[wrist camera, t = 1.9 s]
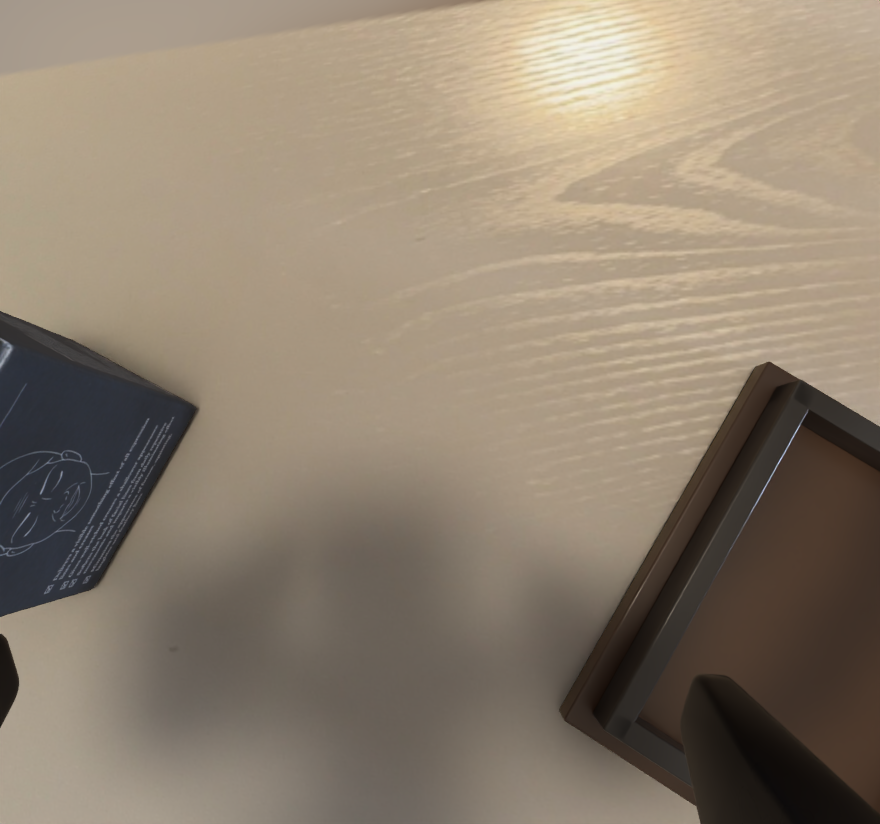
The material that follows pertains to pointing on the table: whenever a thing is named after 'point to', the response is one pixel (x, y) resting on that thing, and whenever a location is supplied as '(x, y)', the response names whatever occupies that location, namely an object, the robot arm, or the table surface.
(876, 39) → the table surface
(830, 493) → the brown wooden tray
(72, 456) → the box
